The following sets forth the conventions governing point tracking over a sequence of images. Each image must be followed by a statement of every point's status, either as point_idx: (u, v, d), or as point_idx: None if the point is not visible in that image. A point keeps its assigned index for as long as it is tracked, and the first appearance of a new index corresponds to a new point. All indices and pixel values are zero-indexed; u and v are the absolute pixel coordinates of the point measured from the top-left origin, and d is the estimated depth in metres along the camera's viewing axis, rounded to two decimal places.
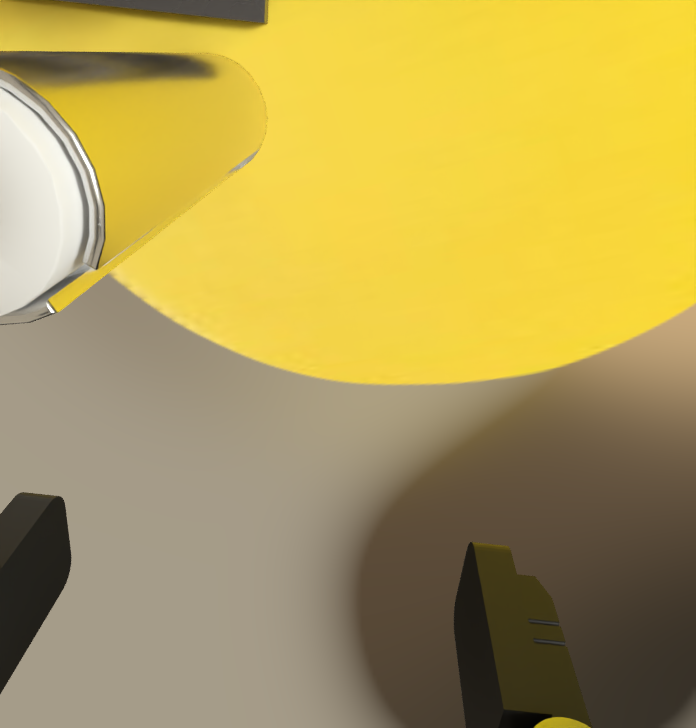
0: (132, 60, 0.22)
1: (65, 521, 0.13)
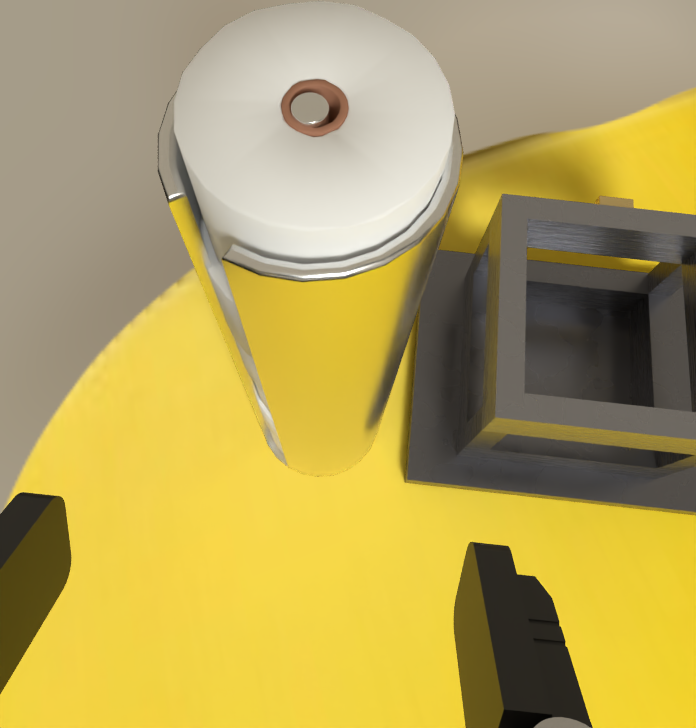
0: (404, 346, 0.22)
1: (65, 521, 0.13)
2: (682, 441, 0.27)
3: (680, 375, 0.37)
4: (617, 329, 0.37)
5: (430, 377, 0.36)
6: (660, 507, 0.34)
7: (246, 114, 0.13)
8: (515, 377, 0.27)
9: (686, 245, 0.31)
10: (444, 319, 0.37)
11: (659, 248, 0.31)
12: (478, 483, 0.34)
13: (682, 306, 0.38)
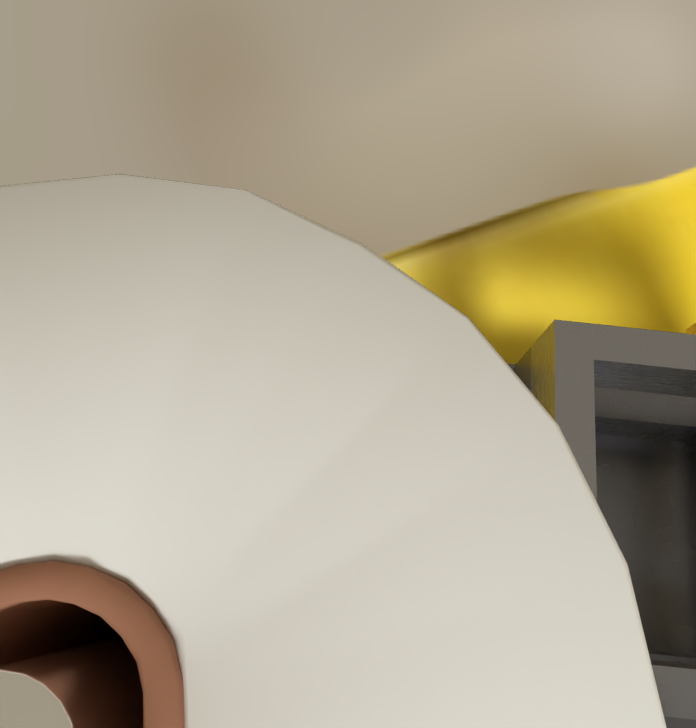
0: None
1: None
2: None
3: None
4: None
5: None
6: None
7: None
8: None
9: None
10: None
11: None
12: None
13: None
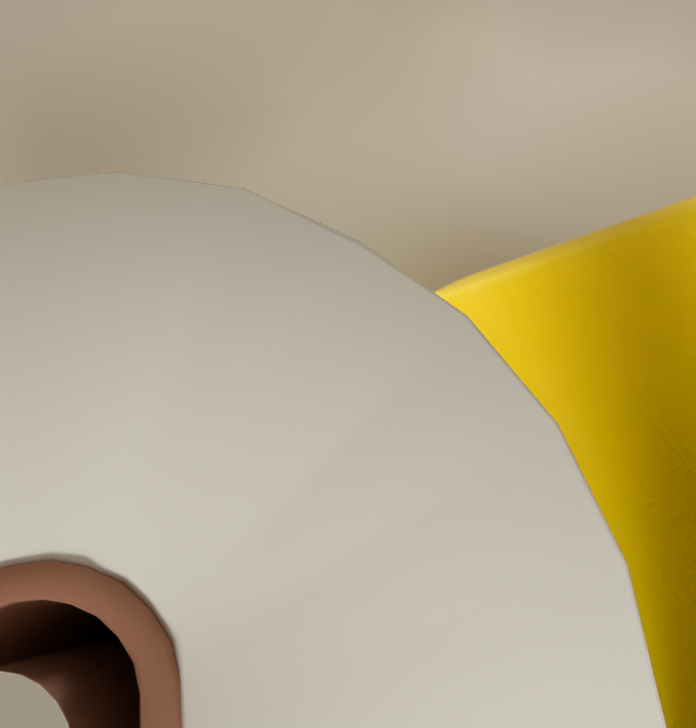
0: None
1: None
2: None
3: None
4: None
5: None
6: None
7: None
8: None
9: None
10: None
11: None
12: None
13: None
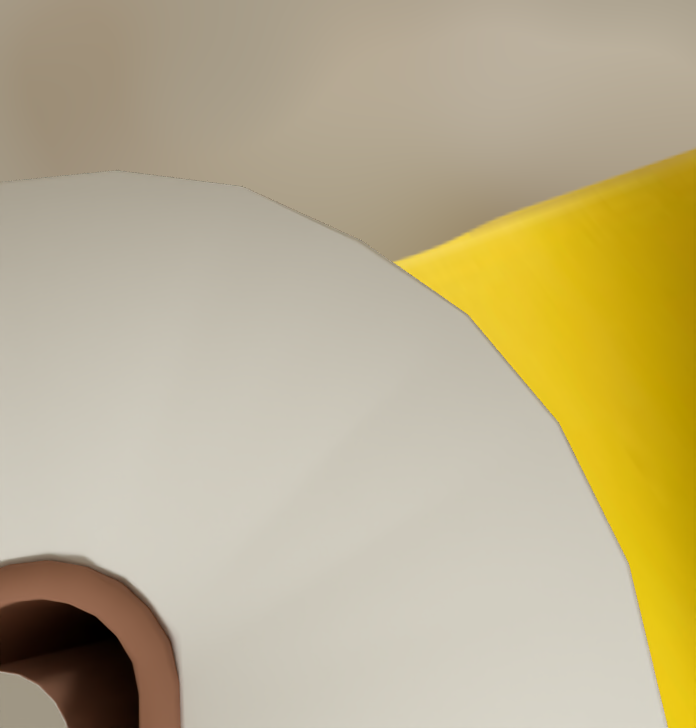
0: None
1: None
2: None
3: None
4: None
5: None
6: None
7: None
8: None
9: None
10: None
11: None
12: None
13: None
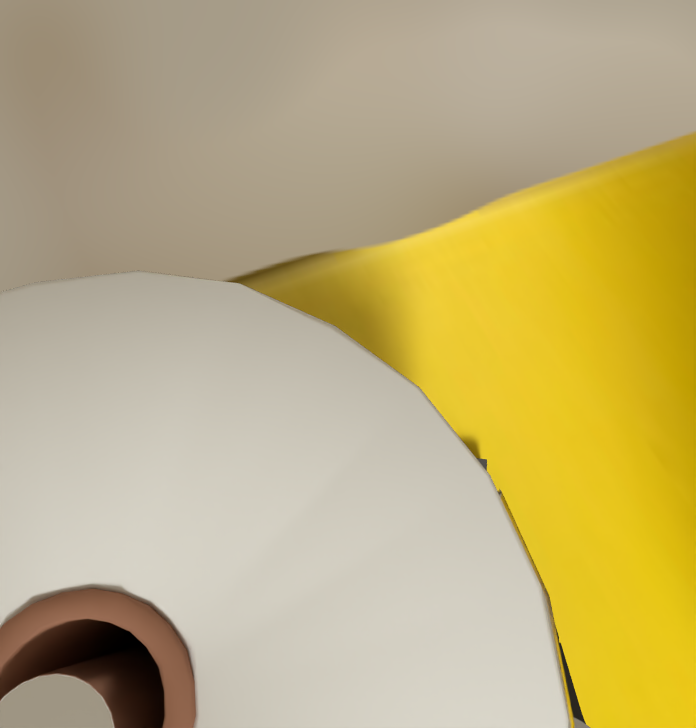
0: None
1: None
2: None
3: None
4: None
5: None
6: None
7: None
8: None
9: None
10: None
11: None
12: None
13: None
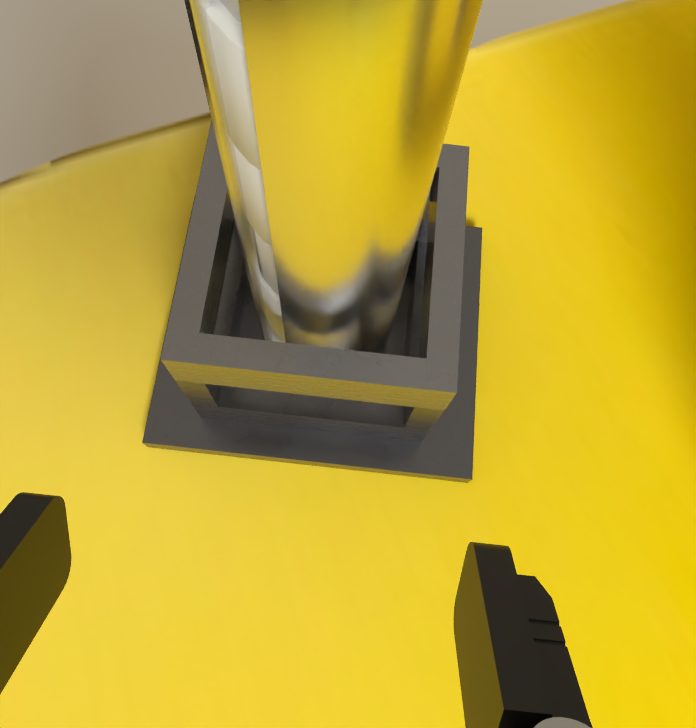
0: (432, 176, 0.19)
1: (65, 521, 0.13)
2: (379, 388, 0.24)
3: (460, 331, 0.34)
4: None
5: None
6: (422, 473, 0.31)
7: None
8: (191, 316, 0.24)
9: None
10: None
11: None
12: (221, 446, 0.31)
13: (471, 258, 0.35)
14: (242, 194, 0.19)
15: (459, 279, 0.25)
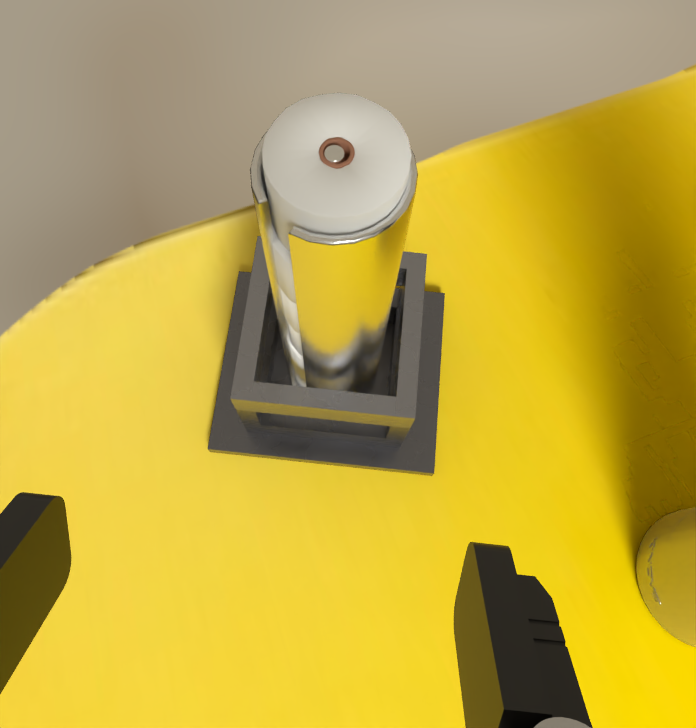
0: (391, 297, 0.33)
1: (65, 521, 0.13)
2: (367, 415, 0.38)
3: (428, 369, 0.48)
4: None
5: (233, 371, 0.47)
6: (399, 469, 0.45)
7: (300, 157, 0.24)
8: (248, 370, 0.38)
9: None
10: None
11: None
12: (262, 451, 0.45)
13: (436, 316, 0.49)
14: (283, 307, 0.33)
15: (418, 344, 0.39)
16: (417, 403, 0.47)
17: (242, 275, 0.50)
